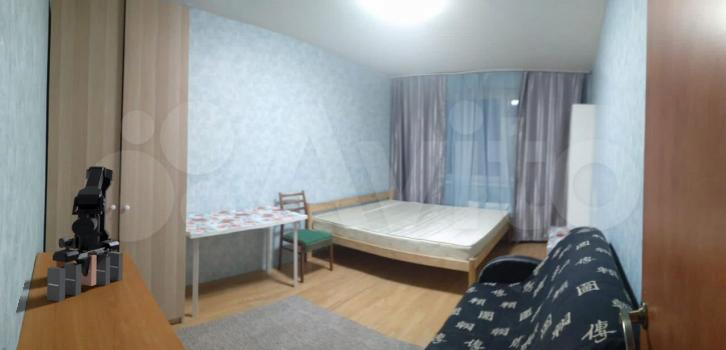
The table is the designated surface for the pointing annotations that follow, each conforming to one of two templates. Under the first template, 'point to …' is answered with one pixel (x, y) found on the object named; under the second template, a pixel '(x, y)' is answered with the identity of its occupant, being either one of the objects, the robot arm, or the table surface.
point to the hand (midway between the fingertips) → (88, 275)
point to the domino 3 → (90, 272)
